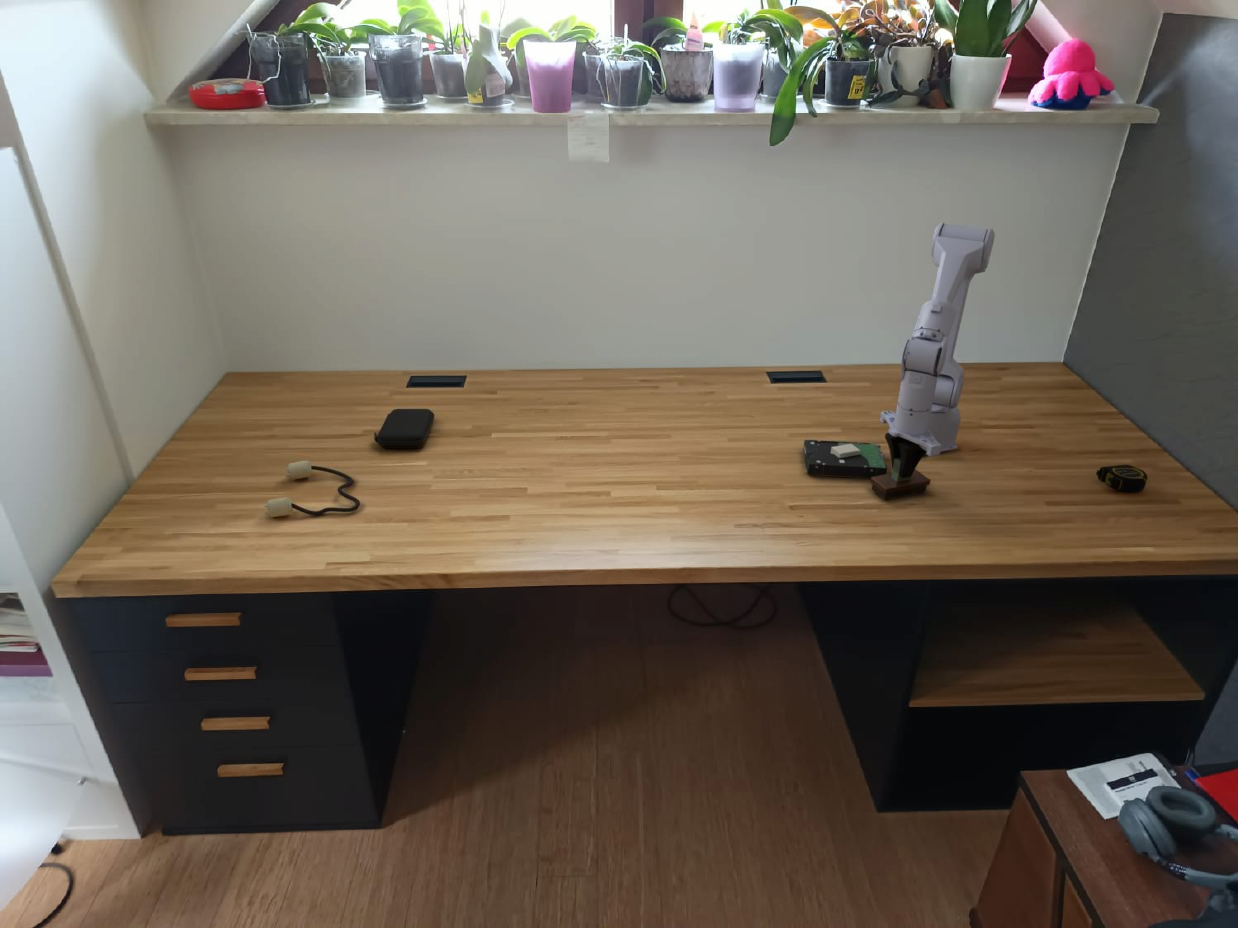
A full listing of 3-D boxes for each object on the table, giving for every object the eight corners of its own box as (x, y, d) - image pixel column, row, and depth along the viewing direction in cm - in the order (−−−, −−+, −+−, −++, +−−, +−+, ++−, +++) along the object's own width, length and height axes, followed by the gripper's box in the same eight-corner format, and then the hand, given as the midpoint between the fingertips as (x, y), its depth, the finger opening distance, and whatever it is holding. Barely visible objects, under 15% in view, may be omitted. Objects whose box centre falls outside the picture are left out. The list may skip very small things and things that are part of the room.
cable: (372, 471, 165) (370, 455, 163) (357, 517, 151) (354, 500, 149) (288, 473, 164) (284, 457, 162) (264, 521, 149) (260, 503, 148)
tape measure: (1125, 477, 165) (1131, 460, 163) (1151, 496, 159) (1157, 478, 157) (1093, 480, 164) (1098, 463, 162) (1118, 499, 158) (1123, 481, 156)
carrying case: (386, 418, 185) (370, 451, 172) (384, 405, 183) (368, 437, 170) (436, 418, 185) (424, 451, 172) (435, 405, 183) (423, 437, 171)
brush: (912, 480, 163) (918, 449, 160) (928, 492, 159) (934, 460, 156) (869, 488, 160) (874, 457, 157) (883, 501, 156) (889, 469, 153)
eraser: (850, 447, 169) (851, 443, 168) (859, 454, 167) (860, 450, 166) (830, 451, 168) (831, 446, 167) (839, 458, 165) (839, 453, 165)
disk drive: (806, 477, 165) (887, 480, 163) (808, 464, 163) (889, 467, 162) (802, 451, 174) (878, 454, 172) (803, 439, 172) (880, 441, 171)
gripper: (870, 392, 156) (860, 458, 163) (921, 426, 144) (907, 496, 151) (903, 386, 158) (891, 452, 165) (956, 419, 146) (941, 489, 153)
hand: (901, 473), depth 158 cm, fingers closed on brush
